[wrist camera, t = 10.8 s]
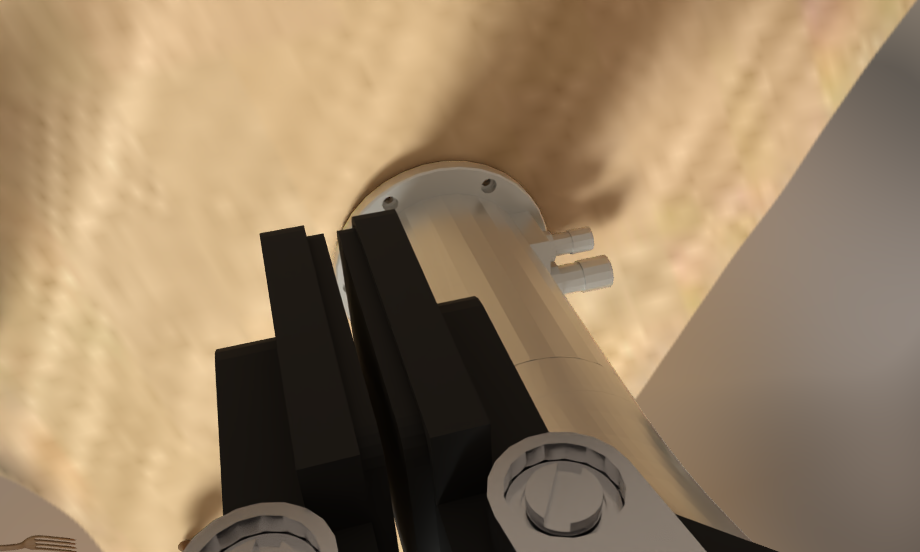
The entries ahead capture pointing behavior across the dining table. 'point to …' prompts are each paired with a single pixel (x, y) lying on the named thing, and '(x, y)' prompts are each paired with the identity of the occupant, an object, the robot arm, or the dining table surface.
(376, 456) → the robot arm
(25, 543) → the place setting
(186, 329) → the dining table surface
